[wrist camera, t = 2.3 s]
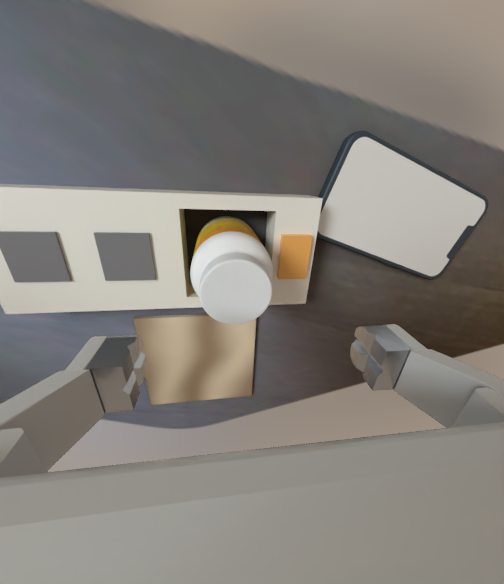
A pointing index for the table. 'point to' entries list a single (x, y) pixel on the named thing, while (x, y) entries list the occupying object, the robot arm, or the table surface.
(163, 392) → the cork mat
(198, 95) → the table surface
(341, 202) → the phone case
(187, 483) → the robot arm
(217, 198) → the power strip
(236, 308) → the supplement bottle
